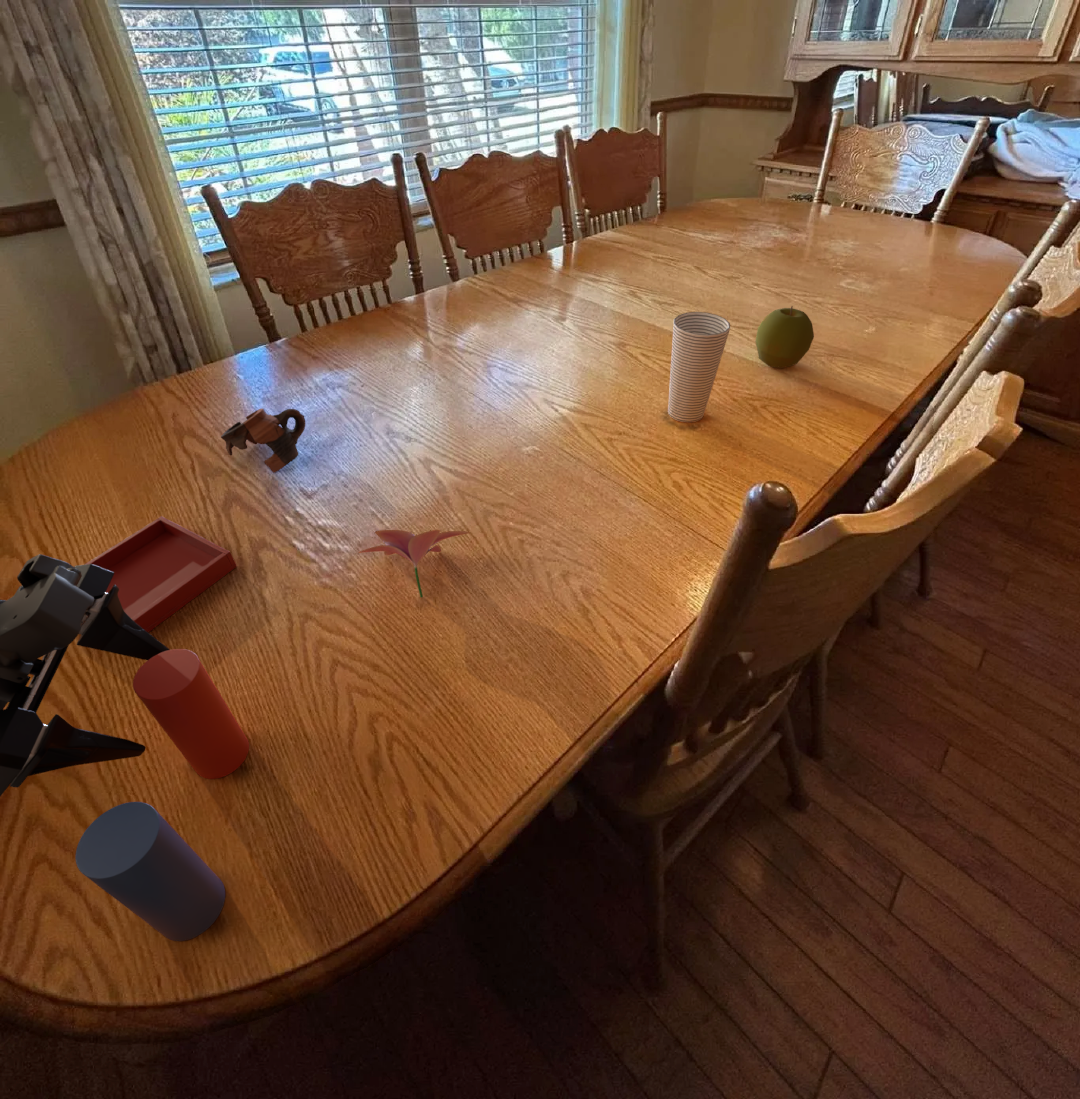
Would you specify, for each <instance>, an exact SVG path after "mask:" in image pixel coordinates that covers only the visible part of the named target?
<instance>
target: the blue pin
mask: <svg viewBox="0 0 1080 1099" xmlns="http://www.w3.org/2000/svg"><path fill="white" fill-rule="evenodd" d="M75 864H76V867H77V869H78V871H79V872H80V873H81V874H82V875H83V876H84V877H86V878H87V879H89V880H90V881H91V882H93V883H94V884H95V885H97V886H98V887H99V888H100V889H102V890H103V891H104V892H106V893H107V894H108V895H110V897H112V898H114V899H115V900H116V901H118V902H119V903H120V904H121V905H123V906H124V907H125V908H126V909H128V910H129V911H131V912H132V913H133V914H135V915H136V916H137V917H138V918H140V919H141V920H143V921H144V922H145V923H147V924H148V925H149V926H150V927H151V928H153V929H154V930H156V931H157V932H158V933H160V934H161V936H164V937H165V938H166V939H168V940H170V941H174V942H185V941H189V940H192V939H195V938H196V937H199V936H200V935H202V934H203V933H204V932H206V931H207V930H208V929H209V928H211V926H212V925H213V924H214V923H215V922H216V920H217V919H218V917H219V916H220V914H221V912H222V910H223V907H224V906H225V901H226V889H225V888H226V887H225V885H224V883H223V881H222V880H221V878H220V877H219V876H218V875H217V873H215V872H214V871H213V870H212V869H211V868H210V866H209V865H207V863H206V862H205V861H204V860H203V859H202V858H201V857H200V856H199V855H198V854H197V852H195V850H194V848H192V847H191V846H190V845H189V844H188V843H187V842H186V841H185V840H184V839H183V837H182V836H181V835H180V834H179V833H178V832H177V831H176V830H175V829H174V828H173V827H172V826H171V825H170V824H169V822H168V821H167V820H166V819H165V818H164V817H163V816H162V815H161V814H160V813H159V812H158V810H157V809H156V808H154V807H153V806H152V805H151V804H149V803H146V802H143V801H128V802H125V803H121V804H118V805H115V806H113V807H111V808H109V809H108V810H106V811H104V812H103V813H102V814H100V815H99V816H98V817H97V818H96V819H94V820H93V821H92V822H91V823H90V824H89V826H87V828H86V829H85V831H84V832H83V833H82V835H81V837H80V839H79V841H78V843H77V846H76V849H75Z"/></svg>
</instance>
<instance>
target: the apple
mask: <svg viewBox="0 0 1080 1099" xmlns="http://www.w3.org/2000/svg"><path fill="white" fill-rule="evenodd" d="M814 337H815V333H814V327H813V323H812V321H811V318H810V317H809V316H808V314H807V313H806V312H804V310H803V311H802V310H800V309H797V308H793V305H791V307H782V308H776V309H773V311H771V312H769V313H768V314H767V315H766V316H765V317H764V318H763V319H762V321H761V322H760V324H759V325H758V327H757V330H756V336H755V341H754V342H755V346H756V350H757V356H758V359H759V360H760V361H761V362H763V363H764V364H765V365H767V366H768V367H771V368H776V369H778V368H779V369H780V368H786V367H792V366H794V365H797V364H798V363H799V362H800V361H801V360H802V359H803V357H804V356H806V354H807V353H808V352H809V350H810V348H811V346H812V344H813V340H814Z"/></svg>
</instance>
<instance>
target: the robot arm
mask: <svg viewBox="0 0 1080 1099" xmlns="http://www.w3.org/2000/svg"><path fill="white" fill-rule="evenodd" d="M85 564H86V563H85ZM113 575H114V572H112V571H110V570H107V569H105V568H102V567H99V566H97V565H94V564H86V565H84V564H79V565H74V566H73V565H72V564H70V563H69V562H67V561H65V560H62V559H58V558H55V557H52V556H48V555H45V554H41V553H39V554H37V555H35V556H33V557H31V558H30V559H28V560H27V561H26V562H25V563H24V565H23V566H22V568H21V570H20V571H19V573H18V575H17V577H16V579H17V581H18V582H19V583H20V586H18V588H17V590H16V591H15V593H14V595H13V596H11V597H9V598H8V599H7V600H6V599H0V797H2V795H3V794H4V793H5V791H6V790H7V789H8V787H11V788H20V787H21V785H22V784H23V783H24V782H25V781H26V780H27V778H28V777H32V776H35V775H40V774H44V773H49V772H53V771H57V770H61V769H66V768H70V767H71V768H72V767H75V766H81V765H89V764H95V763H103V762H110V761H116V760H123V759H131V758H137V757H140V756H142V755H143V753H145V751H146V745H144V744H142V743H139V742H136V741H133V740H131V739H127V738H122V737H116V736H113V735H109V734H104V733H100V732H95V731H90V730H86V729H81V728H78V727H74V726H73V725H71V724H70V723H69V722H68V721H67V720H65V719H64V718H63V717H62V716H61V715H59V714H58V713H55V714H54V716H53V717H52V718H51V719H50V721H49V722H48V723H47V724H46V723H43V722H42V720H41V718H40V717H39V715H38V713H37V712H38V710H39V708H40V705H41V704H42V702H43V699H44V698H45V695H46V693H47V691H48V689H49V687H50V685H51V683H52V681H53V679H54V676H55V675H56V672H57V670H58V669H59V666H60V664H61V662H62V660H63V658H64V656H65V654H66V652H67V649H68V647H69V646H70V645H71V644H72V643H73V642H74V641H75V639H76V638H77V637H78V636H79V638H78V640H77V642H76V644H75V645H76V646H79V647H84V648H88V649H93V650H97V651H102V652H107V653H110V654H111V653H112V654H115V655H119V656H126V657H130V658H134V659H139V660H144V661H148V660H149V659H150V658H152V657H154V656H155V655H157V654H159V653H162V652H165V651H168V650H171V649H170V648H169V647H168V646H166V645H165V644H163V643H162V642H161V641H159V639H157V638H156V637H155V636H153V635H152V634H150V632H147V631H145V630H144V629H143V628H142V627H140V626H139V625H138V624H137V623H136V622H135V621H133V620H132V619H131V618H130V617H129V616H128V615H127V614H126V613H125V612H124V610H123V608H122V605H121V603H120V600H119V598H118V591H119V588H118V587H117V586H116V585H115V584H114V585H113V587H112V588H111V589H110V591H109V592H108V593H106V590H107V588H108V586H109V584H110V582H111V579H112V577H113ZM41 658H42V659H41ZM29 675H31V676H32V679H31V676H29ZM29 681H30V682H29ZM28 683H29V684H28Z"/></svg>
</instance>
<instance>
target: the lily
mask: <svg viewBox="0 0 1080 1099" xmlns="http://www.w3.org/2000/svg"><path fill="white" fill-rule="evenodd" d="M470 533H471V531H465V530H448V531H447V530H446V531H441V529H434V530H427V531H425V532H421V533H418V534H417V533H416V534H414V533H412V530H410V531H406V530H402V529H380V530H376V531H374V534H375V535H376V536H377V537H378V538H379V539H380V540H381V542H383V544H382V545H381V544H380V545H376V546H372V547H369V548H366V549H365V548H364V549H362V550H360V551H358V553H357V554H361V553H362V554H363V553H372V552H383V554H384V555H385V556H386V557H388V556H392V555H394V554H396V555H398V556H401V557H402V558H405V559H406V560H407V561H408V562H411V563H412V564H413V567H414V574H415V580H416V584H417V588H418V592H419V593H418V594H419V597H420V598H423V597H424V596H423V590H422V587H421V582H420V579H419V573H418V564H419V563H420V562H421V560H422V559H423V558H424V557H425V556H426V555H427V554H428V553H441V552H442V548H441V547H440V545H438V544H437V543H439V542H441V541H444V540H447V539H450V538H453V537H458V536H463V535H467V534H470ZM435 544H436V545H435ZM432 546H433V547H432Z"/></svg>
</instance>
